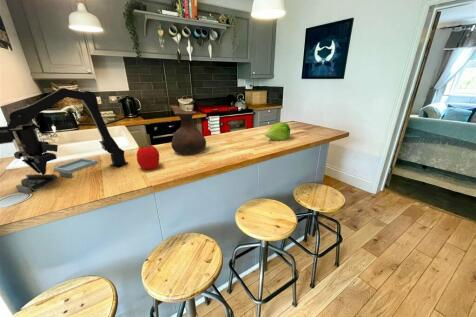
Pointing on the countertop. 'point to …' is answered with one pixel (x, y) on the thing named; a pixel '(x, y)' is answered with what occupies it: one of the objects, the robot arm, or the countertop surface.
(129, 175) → the countertop surface
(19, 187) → the bay rails
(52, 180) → the dark piece
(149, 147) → the red apple
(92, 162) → the tray
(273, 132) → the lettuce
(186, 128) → the dark brown vase
